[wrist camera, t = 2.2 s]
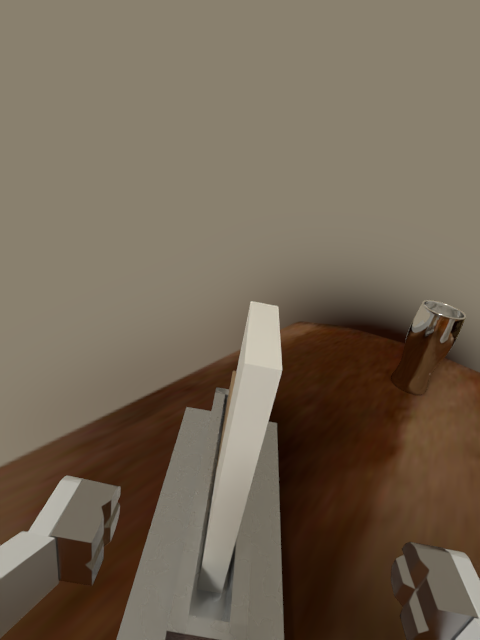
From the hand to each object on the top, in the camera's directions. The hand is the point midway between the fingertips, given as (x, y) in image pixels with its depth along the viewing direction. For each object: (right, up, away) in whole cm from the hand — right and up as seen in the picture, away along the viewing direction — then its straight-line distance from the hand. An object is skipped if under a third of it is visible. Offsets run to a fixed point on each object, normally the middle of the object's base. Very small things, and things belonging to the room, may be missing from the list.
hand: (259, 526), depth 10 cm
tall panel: (-3, -14, +22) cm, 26 cm away
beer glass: (+29, -6, +54) cm, 61 cm away
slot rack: (-3, -14, +26) cm, 30 cm away
